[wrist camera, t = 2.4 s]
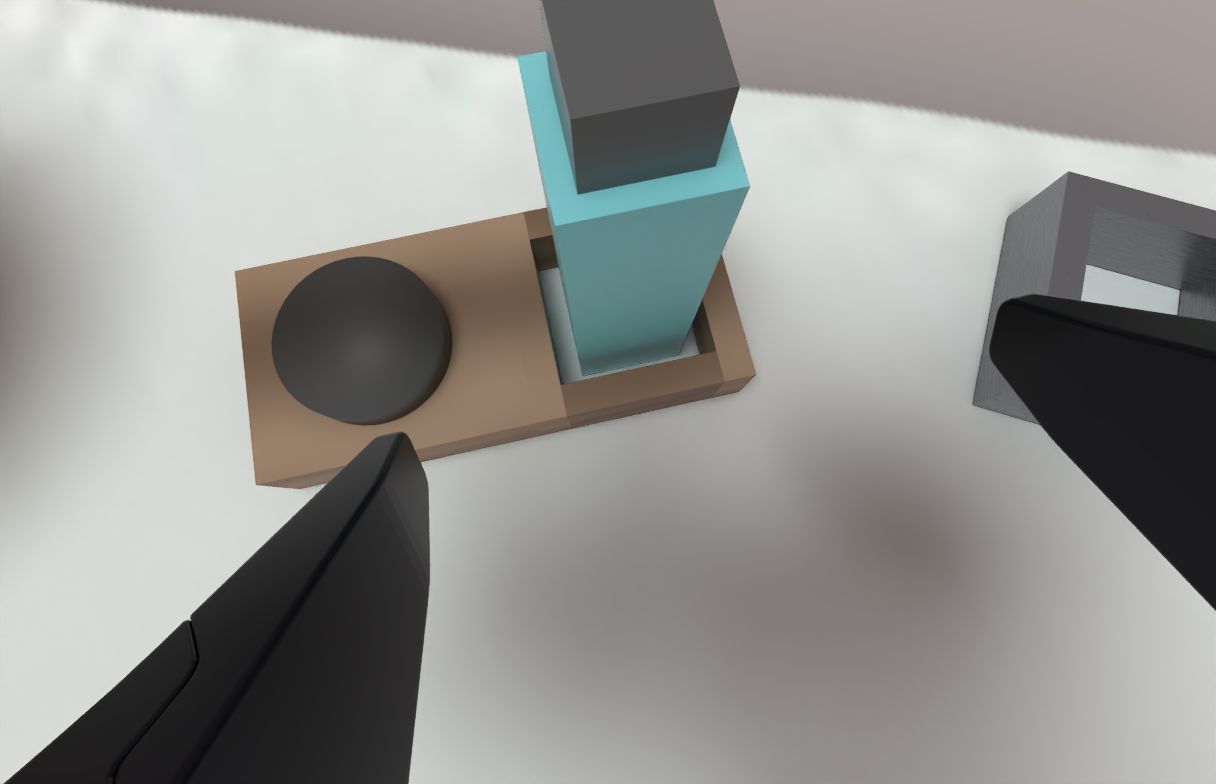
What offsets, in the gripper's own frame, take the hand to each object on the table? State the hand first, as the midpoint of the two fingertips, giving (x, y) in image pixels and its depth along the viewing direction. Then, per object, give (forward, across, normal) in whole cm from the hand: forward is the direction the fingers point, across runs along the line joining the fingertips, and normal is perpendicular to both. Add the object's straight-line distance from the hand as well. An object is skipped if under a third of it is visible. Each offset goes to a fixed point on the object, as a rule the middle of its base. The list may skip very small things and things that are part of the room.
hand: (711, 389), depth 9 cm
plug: (+12, 0, +5) cm, 13 cm away
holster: (+12, +4, +5) cm, 14 cm away
